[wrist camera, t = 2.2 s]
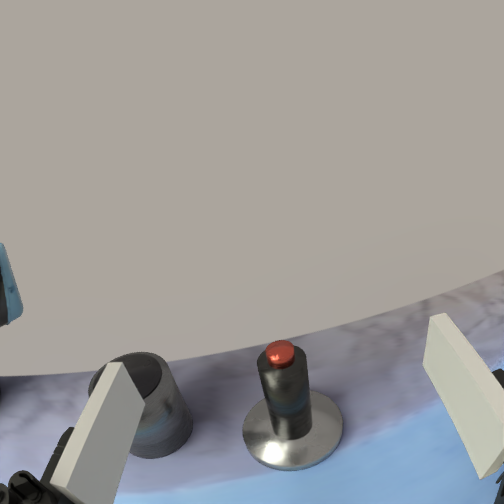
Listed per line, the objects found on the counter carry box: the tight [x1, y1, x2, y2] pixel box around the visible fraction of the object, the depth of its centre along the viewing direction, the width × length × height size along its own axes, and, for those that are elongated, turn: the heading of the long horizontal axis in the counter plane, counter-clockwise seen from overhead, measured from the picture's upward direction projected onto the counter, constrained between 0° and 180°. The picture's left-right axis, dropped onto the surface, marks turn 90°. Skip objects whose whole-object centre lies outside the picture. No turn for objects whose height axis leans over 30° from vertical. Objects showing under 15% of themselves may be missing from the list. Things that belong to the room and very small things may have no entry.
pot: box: [88, 352, 193, 459], centre depth 30 cm, size 9×9×8 cm
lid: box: [243, 340, 343, 471], centre depth 27 cm, size 10×10×12 cm
